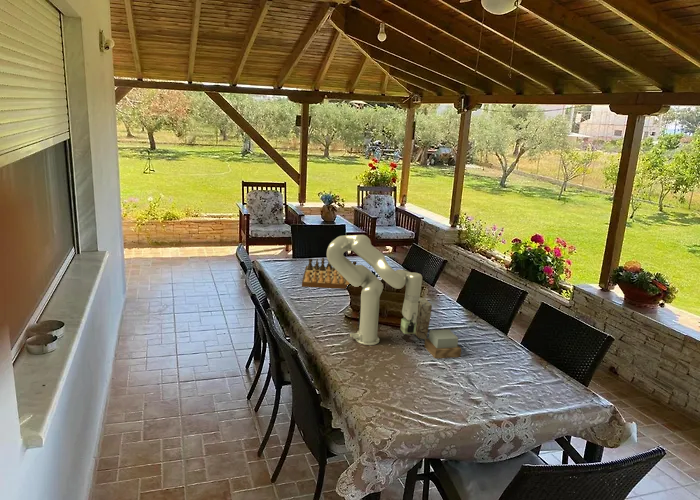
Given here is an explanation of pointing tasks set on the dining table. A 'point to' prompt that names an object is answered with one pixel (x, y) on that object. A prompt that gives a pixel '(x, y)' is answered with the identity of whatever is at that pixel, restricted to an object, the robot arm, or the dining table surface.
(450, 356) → the walnut slab
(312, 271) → the chess set
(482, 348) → the dining table surface
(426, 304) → the stone block
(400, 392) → the dining table surface
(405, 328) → the sage cube
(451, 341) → the sage green flat block
